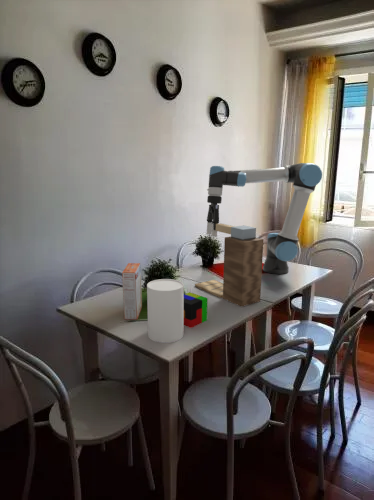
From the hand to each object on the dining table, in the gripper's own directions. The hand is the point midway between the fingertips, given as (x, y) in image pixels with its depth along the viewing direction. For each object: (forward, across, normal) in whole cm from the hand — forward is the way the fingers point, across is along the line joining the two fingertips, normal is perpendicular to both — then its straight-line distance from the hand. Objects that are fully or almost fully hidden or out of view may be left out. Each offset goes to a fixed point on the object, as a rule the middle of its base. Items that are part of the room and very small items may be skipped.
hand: (211, 235), depth 204 cm
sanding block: (-2, +26, +5) cm, 26 cm away
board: (+27, +13, +3) cm, 30 cm away
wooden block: (+28, +29, +11) cm, 41 cm away
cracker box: (+34, +38, -40) cm, 65 cm away
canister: (+35, +60, -27) cm, 75 cm away
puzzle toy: (+33, +49, -16) cm, 61 cm away
